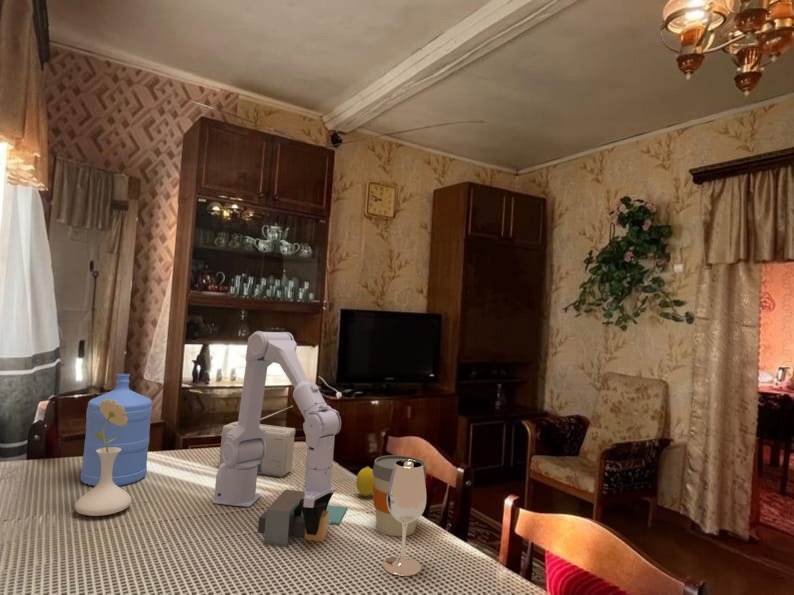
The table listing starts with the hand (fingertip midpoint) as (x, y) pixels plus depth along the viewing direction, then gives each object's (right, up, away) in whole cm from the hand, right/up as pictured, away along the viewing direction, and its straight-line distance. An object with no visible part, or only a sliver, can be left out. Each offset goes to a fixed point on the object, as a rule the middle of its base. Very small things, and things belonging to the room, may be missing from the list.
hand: (314, 529), depth 110 cm
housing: (-7, -1, +1) cm, 7 cm away
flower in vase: (-50, +2, +6) cm, 50 cm away
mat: (0, -2, +12) cm, 12 cm away
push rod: (-7, -1, +1) cm, 7 cm away
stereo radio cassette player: (-24, -2, +41) cm, 48 cm away
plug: (0, -2, 0) cm, 2 cm away
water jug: (-59, +1, +27) cm, 65 cm away
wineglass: (+19, -3, -11) cm, 22 cm away
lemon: (+10, -3, +26) cm, 28 cm away
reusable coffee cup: (+18, -3, +7) cm, 19 cm away
